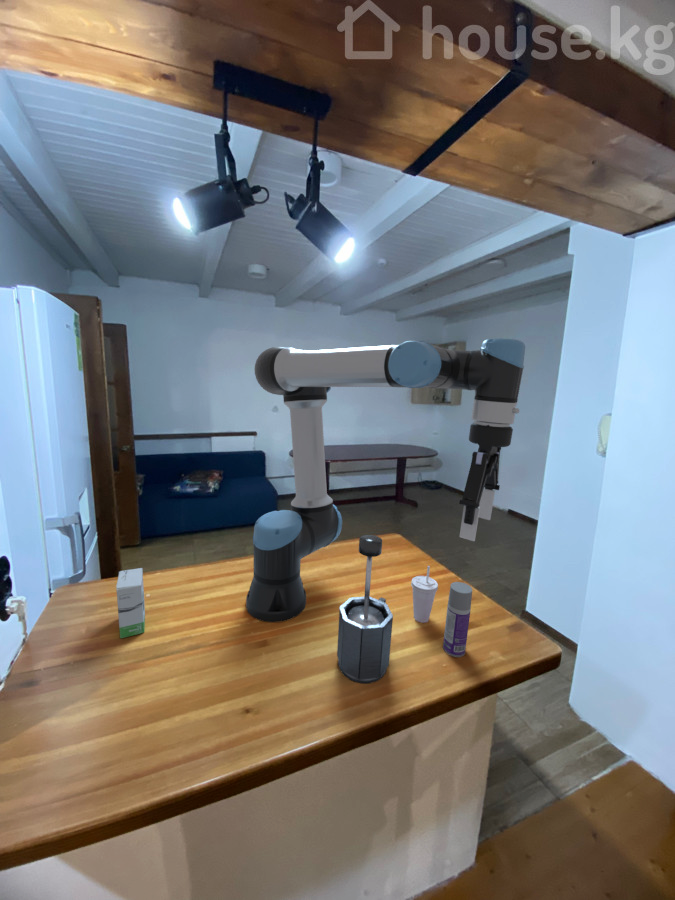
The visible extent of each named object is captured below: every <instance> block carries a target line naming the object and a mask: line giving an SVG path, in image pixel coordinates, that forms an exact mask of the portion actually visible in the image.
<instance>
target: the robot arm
mask: <svg viewBox="0 0 675 900" xmlns="http://www.w3.org/2000/svg"><path fill="white" fill-rule="evenodd" d="M479 348H480V349H478V350H477V349H476V350H460V349H458V350H457V349H448V348H444V347H441V346H438V345H433V344H431V343H429V342H425V341H423V340H407V341H404V342H402V343H399V344H391V345H388V344H387V345H377V346H375V345H374V346H373V345H372V346H359V347H347V348H333V349H319V350H318V349H317V350H310V349H309V350H306V349H304V350H303V349H299V348H298V349H297V348H294V347H283V346H274V347H273V346H272V347H270V348H267V349H265V350H264V351H262V352H261V353H260V354H259V355H258V356H257V358H256V361H255V363H254V376H255V379H256V381H257V383H258V385H259V387H261V388H262V389H263V390H265V392H267V393H270V394H272V395H276V396H277V395H278V396H283V404H284V405H285V406H286V407H288V409H289V415H290V427H291V431H290V432H291V444H292V457H293V459H292V461H293V471H294V472H293V474H294V487H295V489H294V490H295V497H294V498H293V499H292V500H291V502H290V509H291V510H290V509H280V510H272V511H269V512H267V513H264V514H263V515H261V516H260V517H258V519H257V520H256V521H255V523H254V527H253V536H252V542H253V578H252V580H251V583H250V586H249V590H248V592H247V594H246V599H245V601H246V602H245V603H246V605H245V606H246V607H245V608H246V611H247V612H248V614H249V615H250V616H251V617H253V618H254V619H256V620H259V621H262V622H265V623H266V622H267V623H278V622H279V623H280V622H286V621H289V620H292V619H294V618H296V617H298V616H299V615H301V614H302V612H303V611H304V609H305V608H306V607H307V593H306V590H305V587H304V584H303V579H302V577H301V560H302V559H303V558H306V557H307V556H309V555H311V554H313V553H314V552H317V551H318V550H320V549H323V548H325V547H327V546H329V545H330V544H331V543H333V542H334V541H336V540H337V539H338V537H339V536H340V534H341V532H342V527H343V518H342V514H341V512H340V511H339V510H338V507H337V505H335V504H334V500H333V498H332V497H331V496H330V495H329V494H328V493H327V492H328V491H327V490H328V489H327V473H326V455H325V439H324V438H325V437H324V424H323V423H324V421H323V420H324V419H323V406H324V405H325V404H326V403H327V402H328V393H329V392H330V391H331V388H408V389H415V388H416V389H420V388H428V389H429V388H430V389H447V390H448V389H449V390H467V391H474V399H473V406H472V412H471V417H470V418H471V420H472V421H473V422H472V423H471V424H470V427H469V435H468V441H470V443H472V444H474V445H475V444H476V445H478V449H477V451H473V452H472V455H471V462H470V467H469V471H468V475H467V478H466V483H465V486H464V491H463V495H462V498H461V499H459V505H462V506H463V509H462V517H461V523H460V529H459V530H460V531H459V538H462V539H465V540H466V541H467V540H468V541H471V542H475V541H476V536H477V532H478V531H477V529H478V523H479V518H480V519H483V520H487V521H491V519H492V518H491V517H492V513H493V512H492V511H493V507H494V506H493V505H494V500H495V493H496V491H499V490H500V486H501V485H499V472H500V471H499V470H500V469H499V468H500V458H501V457H500V456H501V455H500V454H501V449H502V448H507V447H509V446H511V443H512V437H513V431H514V429H513V427H512V426H510V425H513V424H514V423H515V418H516V416H515V415H516V414H520V409H519V408H518V407H517V405H518V399H519V394H520V393H519V392H520V386H521V382H522V378H523V372H524V369H525V366H524V364H525V363H524V362H525V355H526V354H525V351H526V344H525V343H524V342H523V341H522V340H519V339H513V338H488V339H484V341H482V343H481V347H479Z"/></svg>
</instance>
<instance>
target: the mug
mask: <svg viewBox="0 0 675 900" xmlns="http://www.w3.org/2000/svg"><path fill="white" fill-rule="evenodd" d="M386 600H387V599H386V598H384V597H382V596H381V597H379V598H378V599H377V598H374V597H372V596H370V597H369V606H371V607H374V608H376V609H378V610H379V611H380V612H381V613H382V614H383V617H384V621H383V622H382V623H381V624H379V625H367V626H362V625H360V624H358V623H356V622H354V621H351V620H349V619H348V612H349V610H350V609H352V608H353V607H356V606H361V605H364V596H355V597H354V596H353V597H349V598H348V599H347V600H346V601H345V602H343V603H342V604H341V605H339V612H338V613H339V614H338V632H337V646H336V647H337V648H336V649H337V650H336V651H337V653H336V657H337V659H338V660H337V664H338V669H339V671H340V673H341V674H342V675H343V676H344V677H345V678H346V679H348V680H349V681H352V682H354V683H357V684H362V685H363V684H367V685H368V684H373V683H376V682H378V681H380V680H382V678H384V676H385V674H386V673H387V670H388V667H389V666H390V657H391V644H392V643H391V642H392V632H393V619H394V615H393V613H392V611H391V609H390V607H389V605H388V604H387V603H386V602H387V601H386Z"/></svg>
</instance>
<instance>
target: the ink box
mask: <svg viewBox="0 0 675 900" xmlns="http://www.w3.org/2000/svg"><path fill="white" fill-rule="evenodd" d="M117 577H118V578H117V581H116V585H115V589H116V600H117V615H118V617H117V618H118V629H119V638H120V639H124V638H128V637H131V636H133V637H134V636H136V635H140V634H144V633H145V629H146V628H145V626H146V624H145V621H146V611H145V607H146V606H145V591H144V590H145V589H144V573H143V567H140V568H139V567H138V568H133V569H125V570H120V571H118V576H117Z"/></svg>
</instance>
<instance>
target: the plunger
mask: <svg viewBox="0 0 675 900" xmlns="http://www.w3.org/2000/svg"><path fill="white" fill-rule="evenodd" d="M382 548H383V539H382V538H381V537H379V536H377V535H373V534H364V535H361V536H360V537H359V539H358V552H359V554H360V555H363V556H365V557H366V566H365V567H366V569H365V581H364V582H365V584H364V596H363V597H364V605H361V606H356V607H353V608H352V609H350V610H349V612H348V619H349V620H351V621H354V622H356V623H358V624H360V625H362V626H367V625H379V624H381V623H382V622H383V621H384V617H383V614H382V613H381V612H380V611H379V610H378V609H376V608H374V607H371V606H369V597H371V596H370V594H371V593H370V592H371V583H372V582H371V581H372V580H371V579H372V578H371V577H372V566H373V558H375V557H379V556H381V554H382V552H383V551H382Z"/></svg>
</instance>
